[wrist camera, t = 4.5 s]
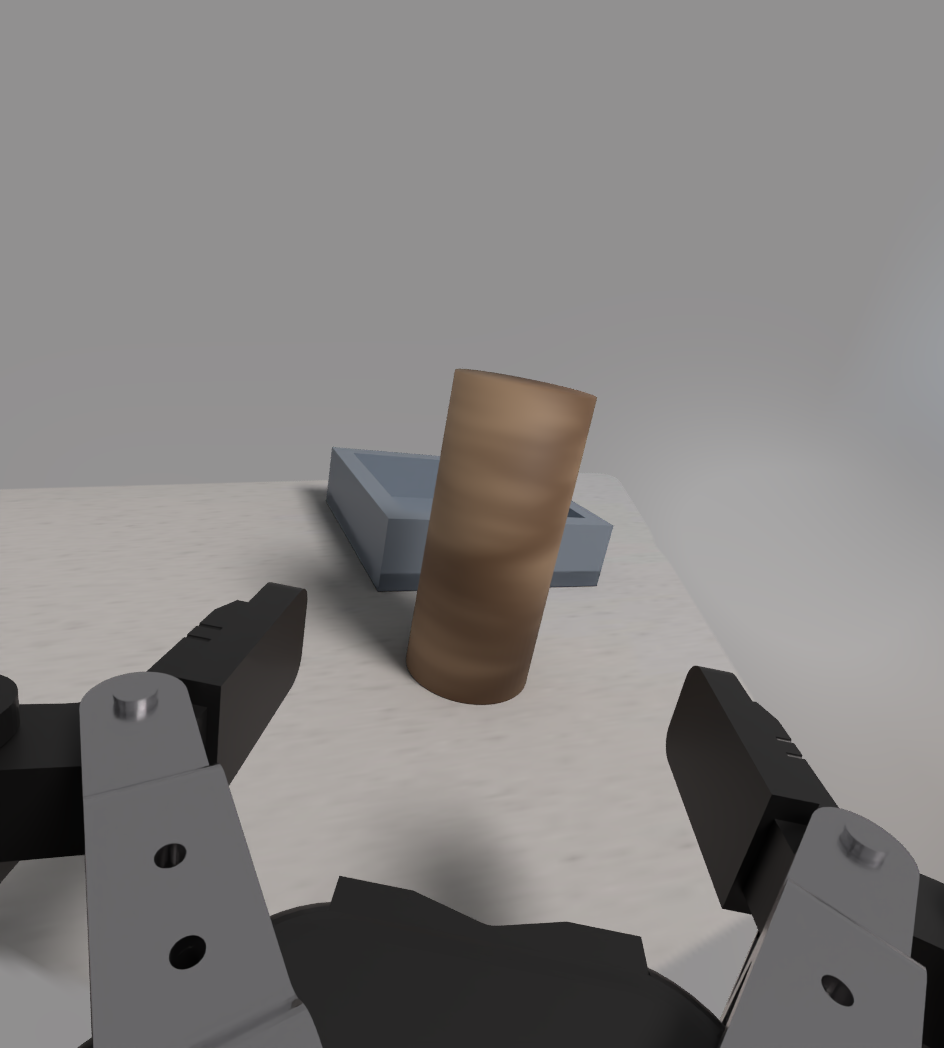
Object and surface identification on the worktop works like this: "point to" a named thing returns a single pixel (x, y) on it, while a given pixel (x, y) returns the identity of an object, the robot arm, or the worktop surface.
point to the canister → (494, 532)
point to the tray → (404, 512)
